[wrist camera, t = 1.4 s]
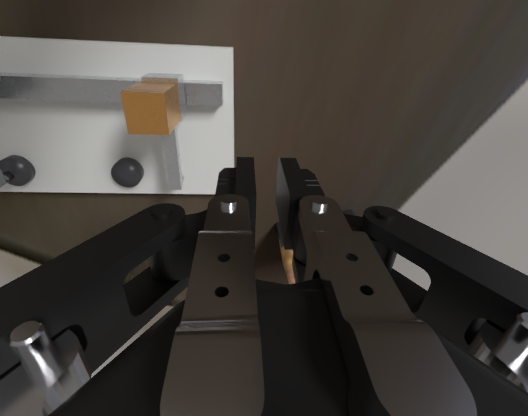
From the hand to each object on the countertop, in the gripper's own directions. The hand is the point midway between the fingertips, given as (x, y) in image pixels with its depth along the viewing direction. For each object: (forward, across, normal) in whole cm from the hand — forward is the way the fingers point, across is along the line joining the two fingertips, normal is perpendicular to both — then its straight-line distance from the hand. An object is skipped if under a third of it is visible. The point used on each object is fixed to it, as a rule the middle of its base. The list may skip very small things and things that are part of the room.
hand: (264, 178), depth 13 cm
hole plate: (+22, +16, +4) cm, 28 cm away
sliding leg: (+19, +8, +4) cm, 21 cm away
